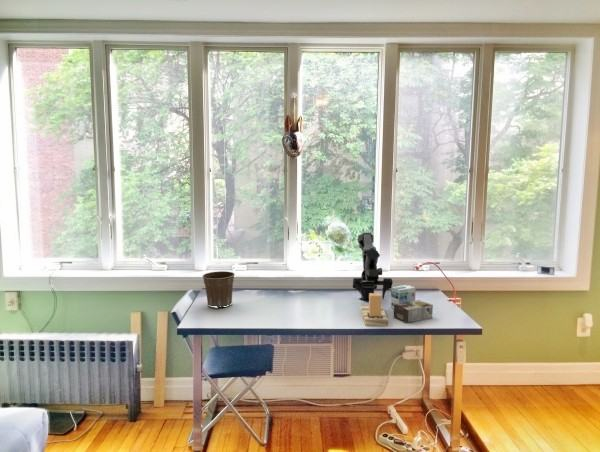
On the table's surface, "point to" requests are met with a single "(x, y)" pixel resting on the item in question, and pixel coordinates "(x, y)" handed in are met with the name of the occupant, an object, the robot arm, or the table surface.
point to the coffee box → (413, 311)
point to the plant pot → (219, 288)
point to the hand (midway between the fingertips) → (373, 298)
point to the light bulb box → (402, 294)
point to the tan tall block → (374, 305)
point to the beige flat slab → (373, 317)
